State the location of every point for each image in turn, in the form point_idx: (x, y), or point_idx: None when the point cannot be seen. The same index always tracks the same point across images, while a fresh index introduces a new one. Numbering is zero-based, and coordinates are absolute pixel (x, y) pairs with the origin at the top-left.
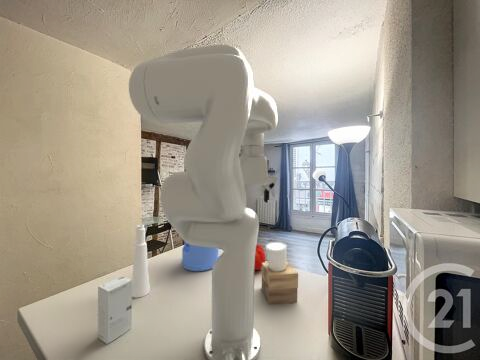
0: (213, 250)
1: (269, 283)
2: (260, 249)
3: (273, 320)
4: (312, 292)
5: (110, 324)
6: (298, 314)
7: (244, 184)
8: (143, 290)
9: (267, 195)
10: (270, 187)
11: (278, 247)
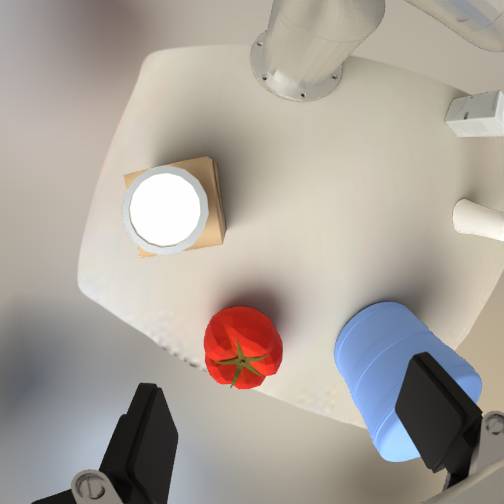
0: (365, 346)
1: (210, 161)
2: (218, 353)
3: (215, 111)
4: (109, 214)
5: (466, 98)
6: (160, 132)
7: (486, 473)
8: (463, 204)
9: (122, 429)
10: (72, 502)
11: (155, 198)
